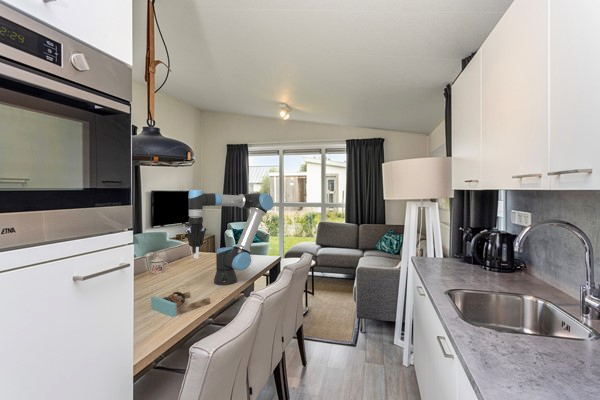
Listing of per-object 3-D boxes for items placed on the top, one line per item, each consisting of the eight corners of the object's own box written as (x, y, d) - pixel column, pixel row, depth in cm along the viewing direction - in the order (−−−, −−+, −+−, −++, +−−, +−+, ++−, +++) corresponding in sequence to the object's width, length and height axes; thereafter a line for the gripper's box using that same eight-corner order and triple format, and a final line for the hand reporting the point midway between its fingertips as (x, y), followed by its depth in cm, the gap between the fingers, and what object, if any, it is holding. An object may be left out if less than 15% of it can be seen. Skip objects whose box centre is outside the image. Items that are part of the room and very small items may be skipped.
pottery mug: (175, 302, 166) (182, 290, 165) (183, 314, 160) (190, 301, 160) (155, 303, 157) (162, 289, 156) (161, 315, 151) (169, 301, 150)
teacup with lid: (150, 274, 223) (149, 258, 223) (151, 271, 231) (151, 256, 231) (167, 272, 227) (167, 257, 227) (168, 270, 235) (168, 255, 235)
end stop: (155, 307, 157) (154, 295, 157) (176, 315, 146) (176, 303, 146) (151, 308, 156) (151, 297, 156) (172, 317, 145) (172, 304, 145)
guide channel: (188, 296, 174) (188, 291, 174) (210, 303, 163) (210, 298, 163) (155, 307, 157) (154, 301, 157) (176, 315, 146) (176, 309, 146)
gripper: (189, 217, 164) (190, 261, 165) (209, 216, 175) (209, 257, 176) (181, 217, 169) (182, 259, 169) (201, 215, 179) (201, 255, 180)
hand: (196, 258), depth 172 cm, fingers closed
